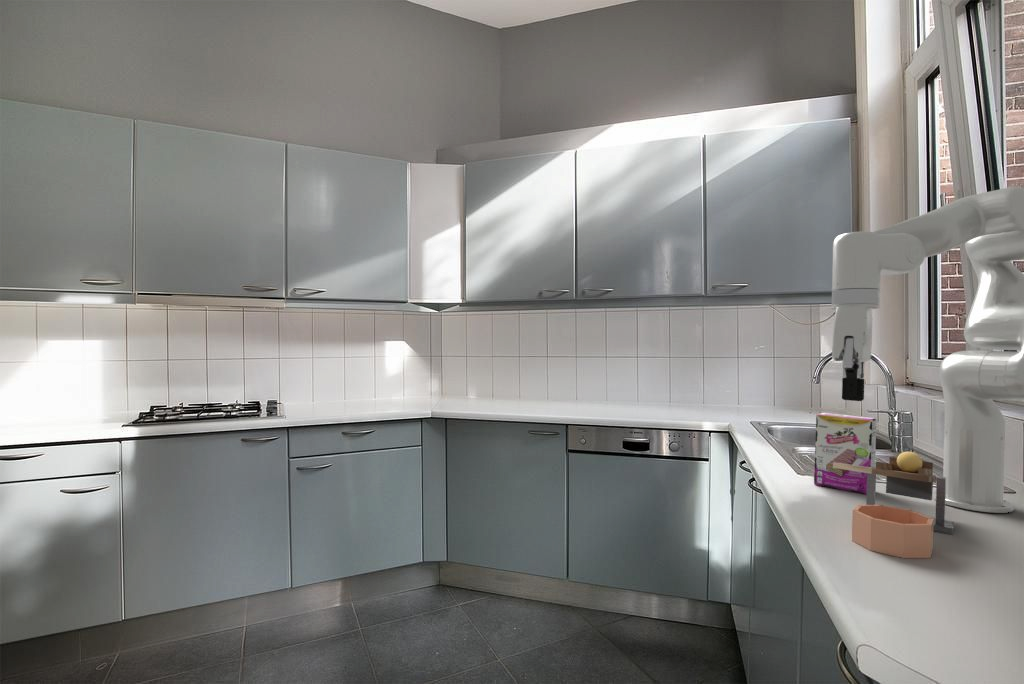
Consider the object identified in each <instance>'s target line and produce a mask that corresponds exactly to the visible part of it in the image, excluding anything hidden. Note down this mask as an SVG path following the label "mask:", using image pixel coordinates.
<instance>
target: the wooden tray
mask: <svg viewBox="0 0 1024 684" xmlns="http://www.w3.org/2000/svg"><path fill="white" fill-rule="evenodd" d="M875 467H876V468H871V467H864V466H857V465H850V464H843V463H835V462H833V468H837V469H844V470H851V471H857V472H864V473H870V474H876V476H877V475H878V476H885V477H886V481H885V483H886V484H885V493H886V494H892V495H896V496H903V497H909V498H914V499H918V500H919V499H920V500H926V501H933V493H934V492H933V490H934V483H937V476H936V475H935V476H934V475H933V474H934V473H933V471H934V469H933V468H934V462H930V461H923V460H922V467H921V468H918V471H917V472H914V473H908V472H905V471H903V470H901V469H900V468H899V466H898V465H897V457H892V456H891V457H890V456H889V462H881V461H875Z"/></svg>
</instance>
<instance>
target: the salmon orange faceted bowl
mask: <svg viewBox="0 0 1024 684" xmlns="http://www.w3.org/2000/svg"><path fill="white" fill-rule="evenodd" d="M933 518H934V517H930V516H927V515H925V514H921V513H920V512H917V511H915V510H912V509H907V508H900V507H894V506H888V505H885V504H875V505H866V504H857V505H856V506H855V507H854V508H853V509H852V526H851V528H852V529H851V531H852V532H851V541H852V542H854V543H855V544H858V545H860V546H861V547H863V548H865V549H867V550H869V551H870V552H874V553H876V552H877V553H880V554H883V555H889V556H893V557H898V558H902V559H931V557H932V554H933V550H934V531H933V520H934V519H933Z"/></svg>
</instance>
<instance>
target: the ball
mask: <svg viewBox="0 0 1024 684" xmlns="http://www.w3.org/2000/svg"><path fill="white" fill-rule="evenodd" d="M896 458H897V465H898V466H899V468H900V469H901V470H903V471H905V472H908V473H914V472H917V471H918V468H921V467H922V461H923V460H922V458H921V456H919V455H918V454H917V453H916V452H912V451H903V452H901V453H900V454H899V455H898V456H897V457H896Z"/></svg>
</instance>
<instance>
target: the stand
mask: <svg viewBox="0 0 1024 684" xmlns="http://www.w3.org/2000/svg"><path fill="white" fill-rule="evenodd" d="M871 468H876V466H875V467H871ZM935 486H936V490H935V492H936V500H935V518H934V517H932V518H933V519H934V520H933V532H938V533H943V534H948V535H953V533H954V528H955V522H954V521H952V520H946V504H945V493H946V477H943V476H936V485H935ZM876 487H877V474H870V473H867V494H866V504H865V505H876Z"/></svg>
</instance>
